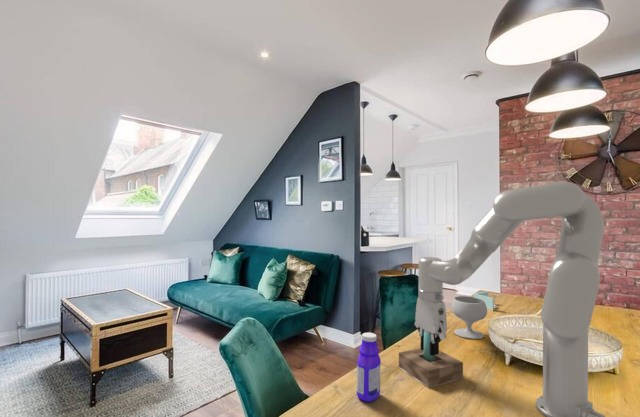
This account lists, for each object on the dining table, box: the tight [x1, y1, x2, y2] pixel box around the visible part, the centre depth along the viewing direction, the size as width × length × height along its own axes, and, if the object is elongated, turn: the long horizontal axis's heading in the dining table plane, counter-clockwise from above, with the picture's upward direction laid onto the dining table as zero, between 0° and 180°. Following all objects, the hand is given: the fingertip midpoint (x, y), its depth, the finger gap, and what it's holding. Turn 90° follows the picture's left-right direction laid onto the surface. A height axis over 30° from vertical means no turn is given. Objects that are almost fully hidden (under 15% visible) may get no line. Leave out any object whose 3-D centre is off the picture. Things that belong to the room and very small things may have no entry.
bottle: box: [356, 332, 382, 403], centre depth 94 cm, size 7×6×17 cm
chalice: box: [451, 295, 488, 340], centre depth 143 cm, size 14×14×15 cm
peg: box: [423, 330, 435, 362], centre depth 109 cm, size 4×4×12 cm
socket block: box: [397, 347, 465, 389], centre depth 109 cm, size 14×14×5 cm
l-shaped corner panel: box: [472, 290, 497, 311], centre depth 186 cm, size 12×12×8 cm
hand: (429, 351), depth 109 cm, fingers closed on peg, 3 cm apart
